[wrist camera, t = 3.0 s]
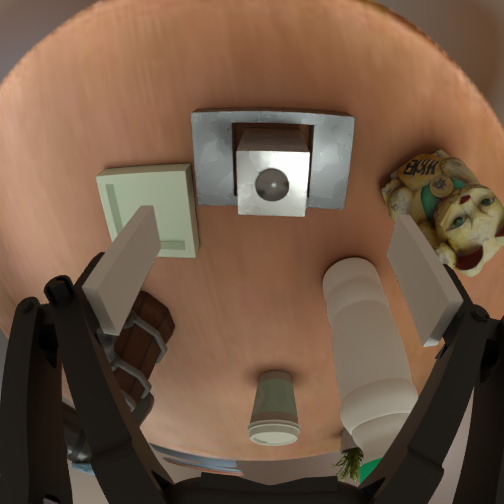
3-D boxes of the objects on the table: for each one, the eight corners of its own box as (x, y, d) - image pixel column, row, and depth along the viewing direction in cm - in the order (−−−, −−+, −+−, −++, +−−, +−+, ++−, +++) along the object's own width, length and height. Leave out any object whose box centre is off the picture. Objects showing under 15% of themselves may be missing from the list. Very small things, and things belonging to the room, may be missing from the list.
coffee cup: (258, 362, 47) (253, 428, 37) (306, 369, 48) (309, 433, 38) (246, 385, 52) (241, 443, 42) (289, 391, 53) (290, 448, 43)
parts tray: (123, 244, 35) (116, 254, 33) (105, 168, 29) (95, 176, 27) (199, 246, 34) (195, 257, 32) (190, 163, 28) (185, 170, 27)
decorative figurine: (432, 129, 24) (530, 191, 12) (463, 186, 27) (541, 265, 15) (365, 183, 28) (424, 279, 16) (403, 234, 31) (457, 333, 19)
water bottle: (349, 244, 33) (406, 473, 12) (386, 272, 35) (447, 468, 14) (309, 282, 36) (326, 495, 16) (348, 305, 38) (379, 492, 18)
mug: (174, 346, 46) (152, 428, 34) (107, 328, 45) (75, 402, 33) (178, 276, 37) (142, 377, 25) (94, 255, 36) (39, 340, 24)
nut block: (246, 176, 29) (237, 216, 22) (245, 128, 26) (235, 152, 19) (297, 178, 29) (304, 218, 22) (299, 129, 26) (310, 154, 19)
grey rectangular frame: (203, 194, 30) (198, 205, 28) (197, 109, 25) (190, 113, 23) (338, 198, 30) (343, 209, 28) (348, 113, 24) (354, 117, 22)
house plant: (310, 434, 68) (311, 489, 54) (349, 417, 61) (354, 478, 47) (344, 441, 72) (347, 489, 58) (382, 425, 65) (389, 477, 51)
